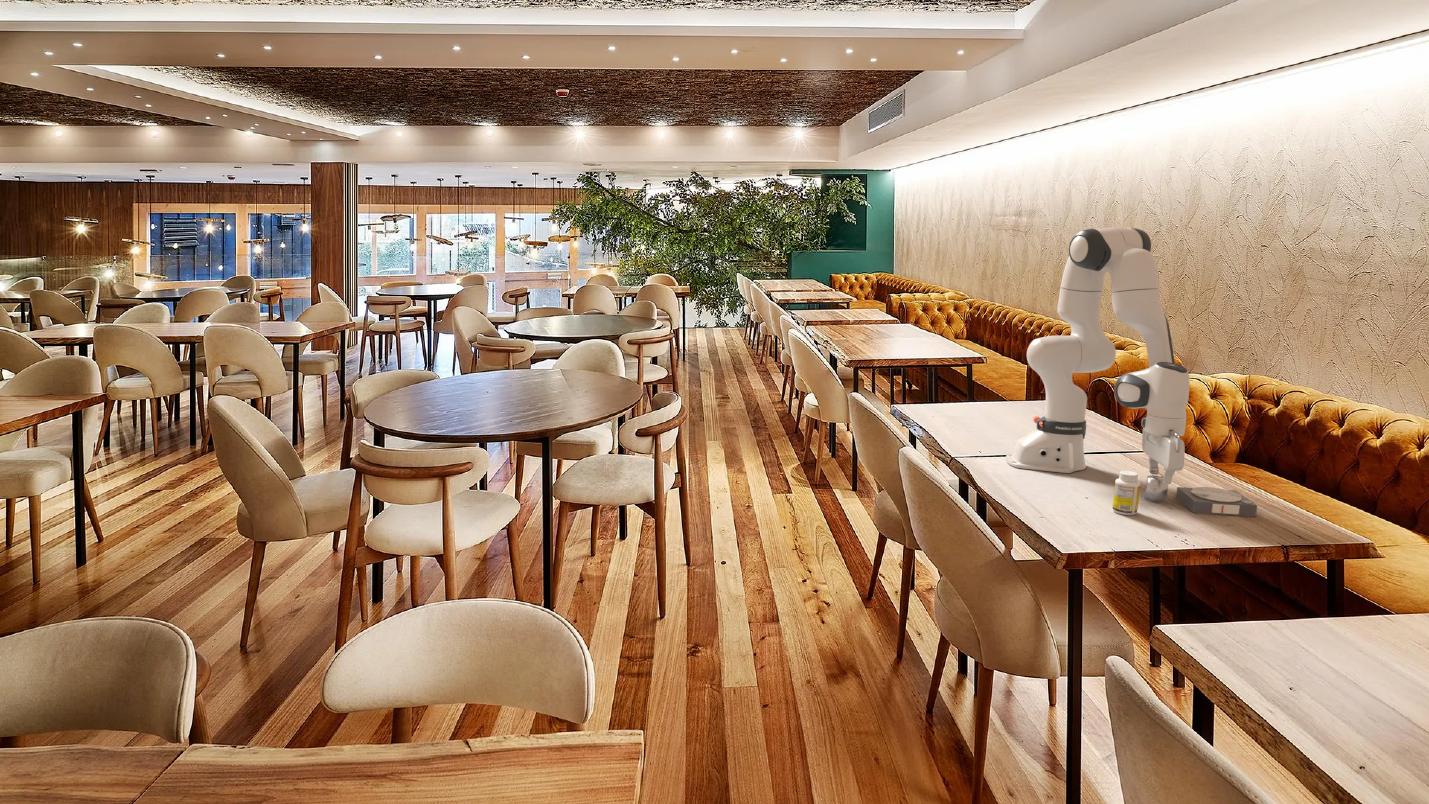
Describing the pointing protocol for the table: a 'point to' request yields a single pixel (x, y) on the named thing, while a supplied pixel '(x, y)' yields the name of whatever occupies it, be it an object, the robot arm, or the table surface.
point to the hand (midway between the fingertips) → (1159, 478)
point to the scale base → (1216, 504)
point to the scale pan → (1216, 494)
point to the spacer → (1156, 489)
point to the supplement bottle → (1126, 493)
